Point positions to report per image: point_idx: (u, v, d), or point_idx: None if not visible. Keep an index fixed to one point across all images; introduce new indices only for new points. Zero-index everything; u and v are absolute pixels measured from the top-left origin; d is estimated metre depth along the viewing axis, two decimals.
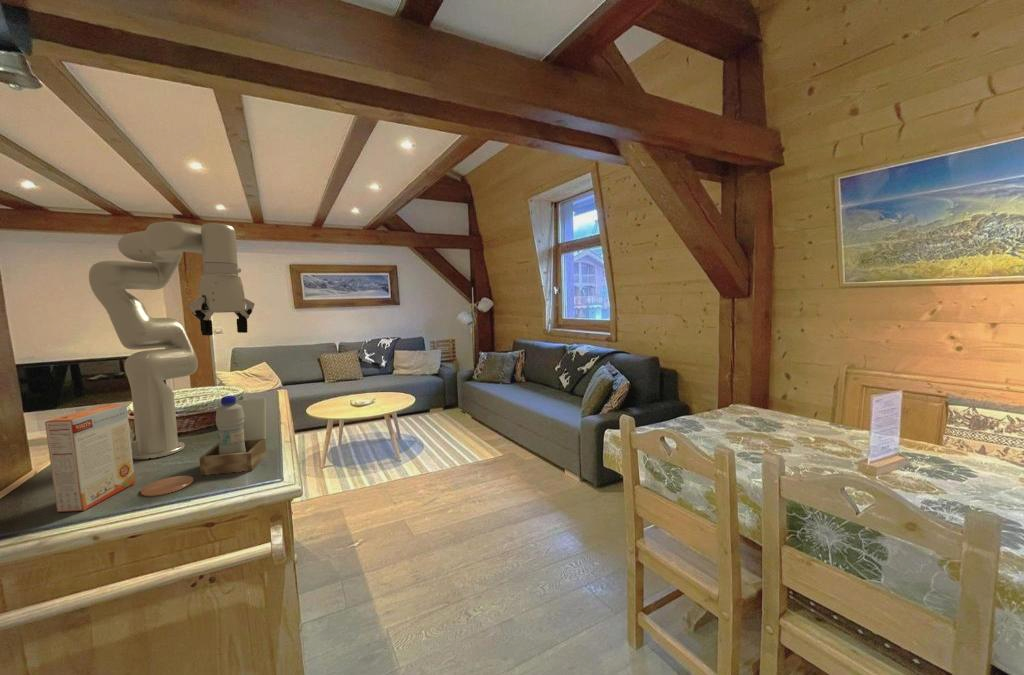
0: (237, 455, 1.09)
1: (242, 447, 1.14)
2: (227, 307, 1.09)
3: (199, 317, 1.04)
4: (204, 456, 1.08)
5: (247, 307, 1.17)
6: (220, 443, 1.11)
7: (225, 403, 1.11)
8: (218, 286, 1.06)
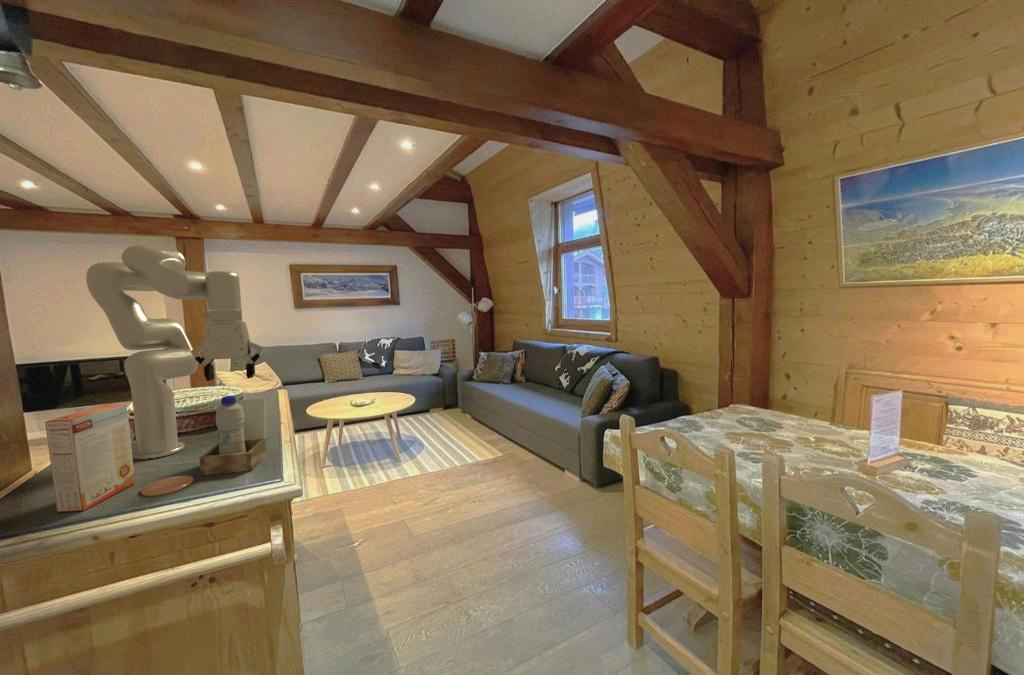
0: (237, 455, 1.09)
1: (242, 447, 1.14)
2: None
3: (256, 360, 1.14)
4: (204, 456, 1.08)
5: (199, 354, 1.10)
6: (220, 443, 1.11)
7: (225, 403, 1.11)
8: None
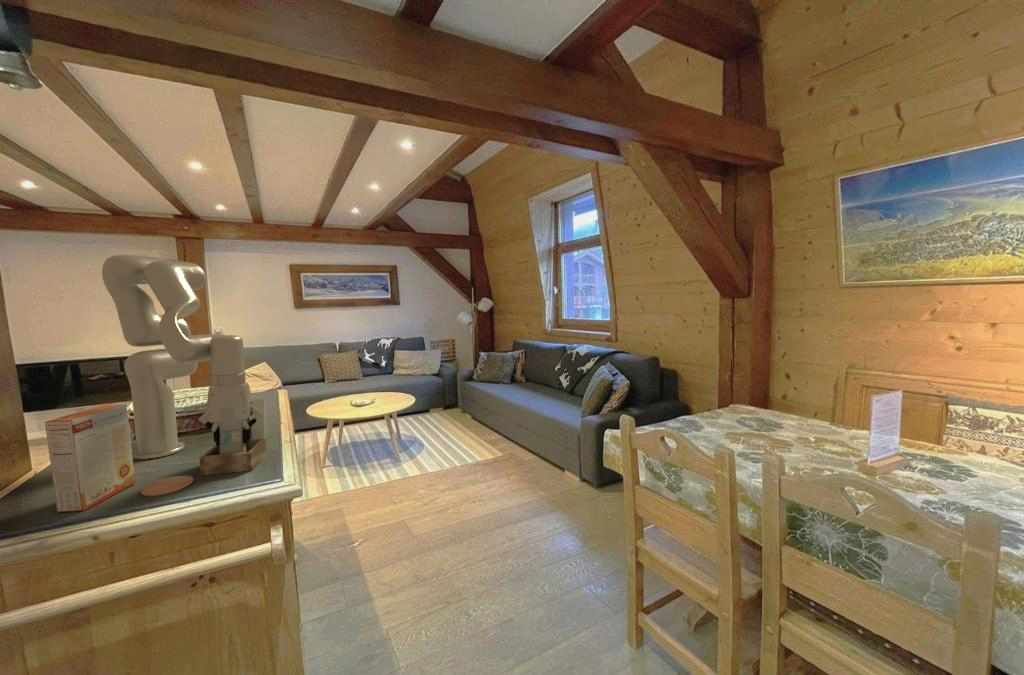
0: (237, 455, 1.09)
1: (243, 447, 1.14)
2: None
3: (252, 424, 1.15)
4: (204, 456, 1.08)
5: (207, 419, 1.12)
6: (221, 442, 1.11)
7: None
8: None
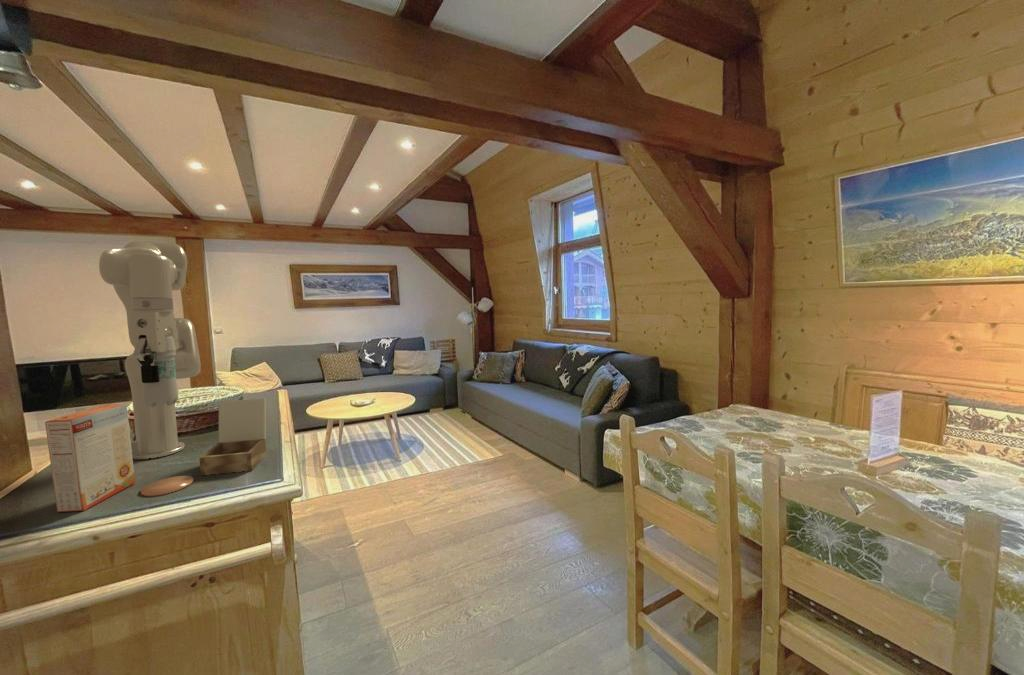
0: (237, 455, 1.09)
1: None
2: None
3: None
4: (204, 456, 1.08)
5: None
6: (166, 376, 0.97)
7: None
8: None
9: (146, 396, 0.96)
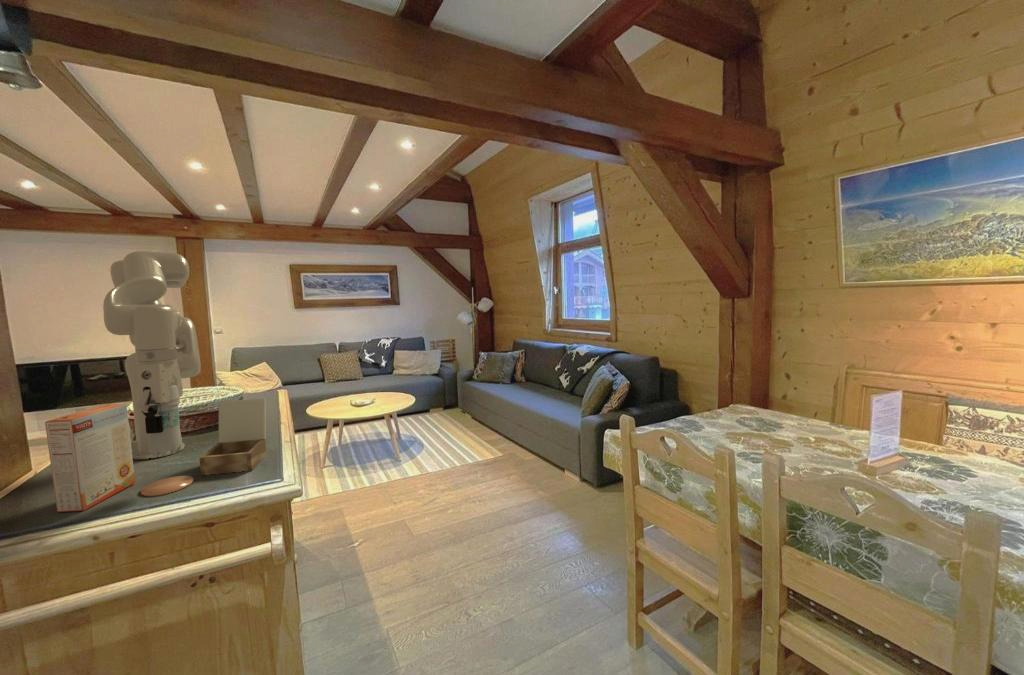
0: (237, 455, 1.09)
1: None
2: None
3: None
4: (204, 456, 1.08)
5: None
6: (170, 425, 0.98)
7: None
8: None
9: (150, 446, 0.97)
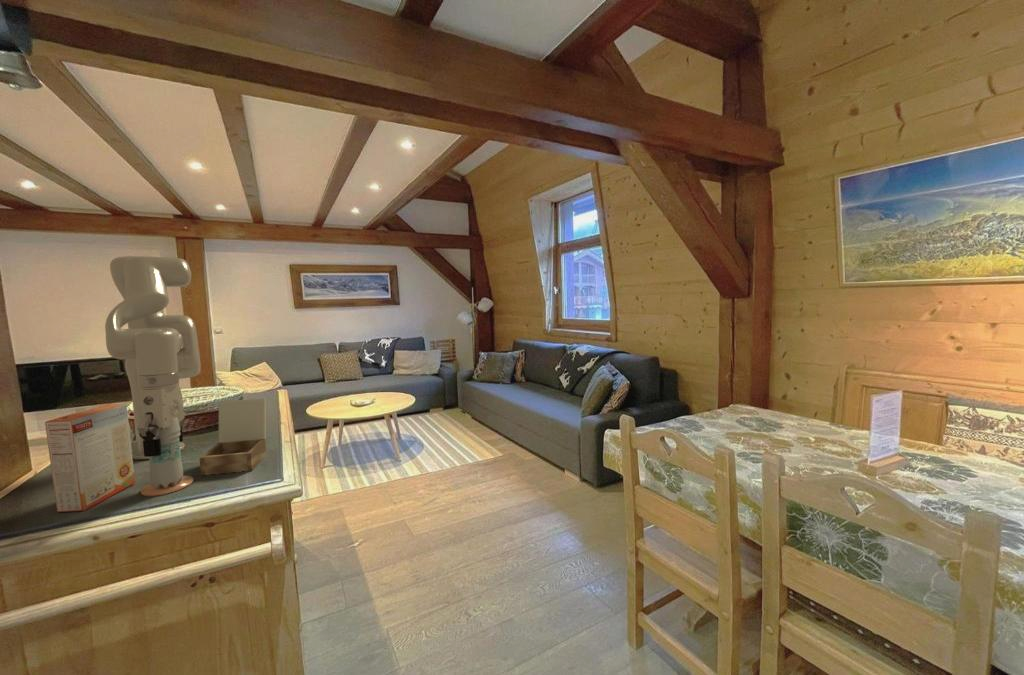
0: (237, 455, 1.09)
1: None
2: None
3: None
4: (204, 456, 1.08)
5: None
6: (171, 458, 0.99)
7: None
8: None
9: (151, 479, 0.97)
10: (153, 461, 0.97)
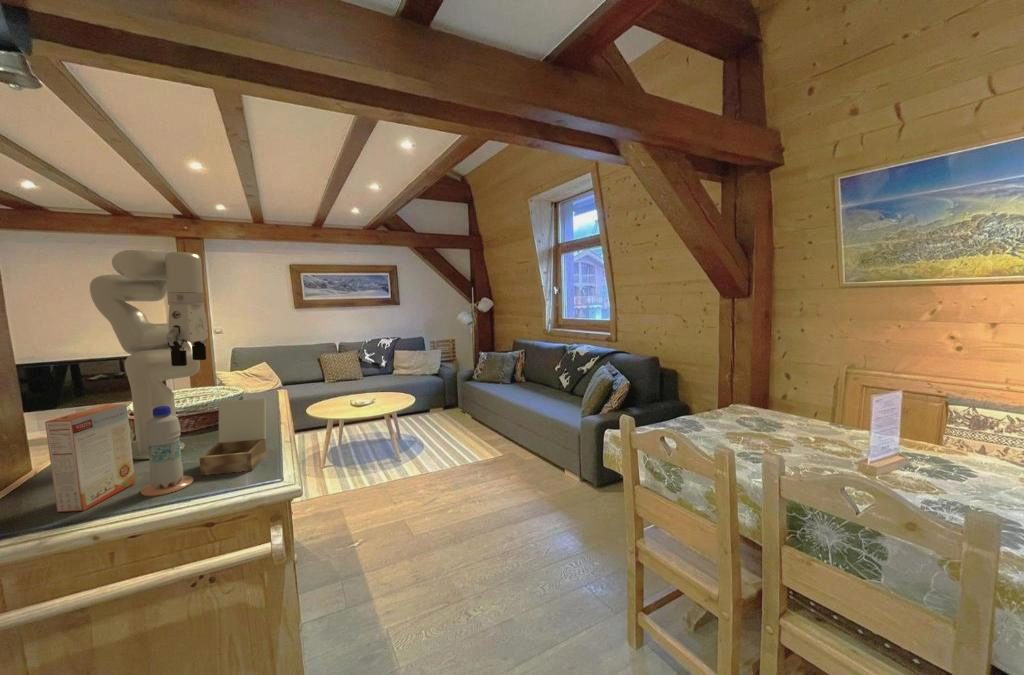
0: (237, 455, 1.09)
1: None
2: None
3: None
4: (204, 456, 1.08)
5: None
6: (171, 458, 0.99)
7: (169, 412, 0.99)
8: None
9: (151, 478, 0.97)
10: (153, 461, 0.97)
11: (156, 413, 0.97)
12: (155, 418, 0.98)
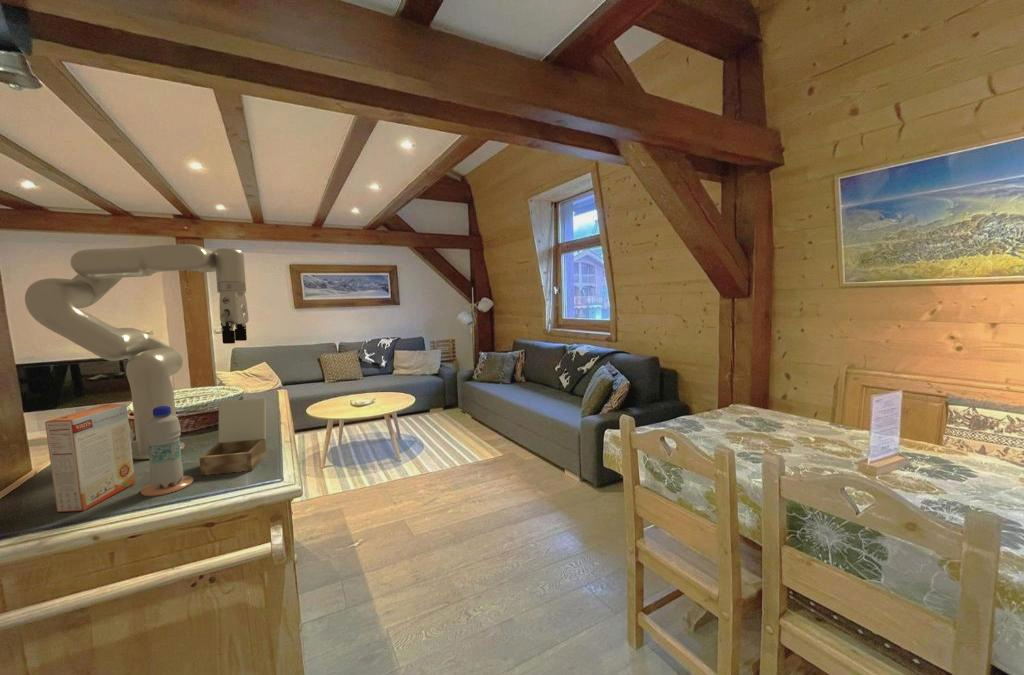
0: (237, 455, 1.09)
1: None
2: None
3: None
4: (204, 456, 1.08)
5: None
6: (171, 458, 0.99)
7: (169, 412, 0.99)
8: None
9: (151, 478, 0.97)
10: (153, 461, 0.97)
11: (156, 413, 0.97)
12: (155, 418, 0.98)
